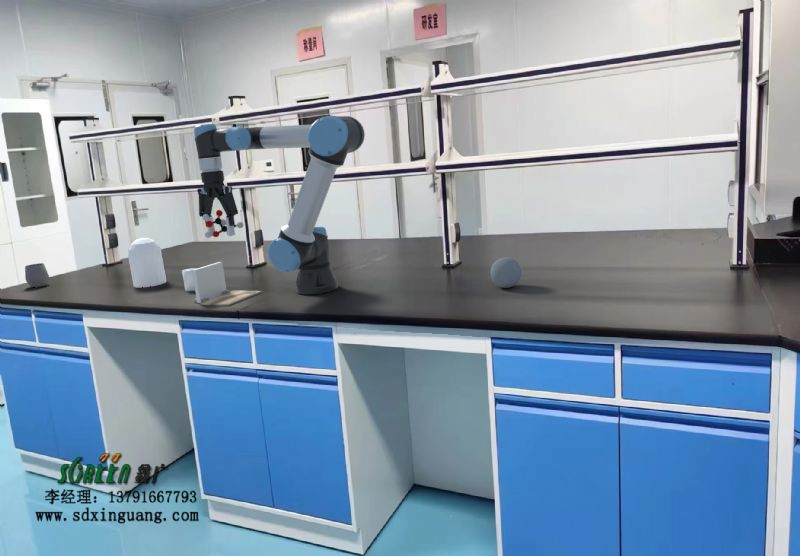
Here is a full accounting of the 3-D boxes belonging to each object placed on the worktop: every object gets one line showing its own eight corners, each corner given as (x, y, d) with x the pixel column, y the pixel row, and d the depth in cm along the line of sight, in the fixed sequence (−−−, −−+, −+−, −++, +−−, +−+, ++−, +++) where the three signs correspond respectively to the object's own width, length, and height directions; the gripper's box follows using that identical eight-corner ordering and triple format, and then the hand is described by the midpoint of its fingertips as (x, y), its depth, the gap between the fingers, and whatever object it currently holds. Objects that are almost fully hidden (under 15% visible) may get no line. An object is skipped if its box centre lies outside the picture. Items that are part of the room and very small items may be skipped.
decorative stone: (488, 291, 199) (486, 260, 197) (495, 283, 208) (493, 254, 206) (519, 291, 195) (517, 260, 193) (524, 283, 204) (523, 254, 202)
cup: (42, 283, 289) (37, 262, 287) (55, 283, 285) (50, 262, 282) (22, 288, 280) (18, 267, 278) (35, 289, 276) (30, 267, 274)
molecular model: (226, 245, 224) (230, 218, 226) (242, 243, 220) (246, 216, 222) (193, 233, 211) (197, 206, 213) (209, 232, 207) (213, 203, 209)
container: (155, 279, 273) (147, 234, 269) (173, 281, 265) (165, 235, 261) (127, 286, 262) (118, 240, 258) (145, 288, 255) (136, 241, 250)
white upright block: (204, 287, 245) (201, 268, 244) (193, 291, 240) (190, 271, 239) (192, 287, 248) (189, 268, 246) (181, 291, 243) (178, 271, 241)
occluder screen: (230, 293, 231) (225, 261, 228) (204, 303, 219) (198, 270, 216) (220, 292, 233) (215, 261, 230) (193, 302, 221) (188, 270, 218)
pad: (261, 292, 227) (261, 290, 227) (229, 305, 211) (228, 304, 211) (234, 291, 233) (233, 290, 232) (200, 304, 217) (200, 302, 217)
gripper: (242, 167, 211) (252, 233, 216) (196, 171, 220) (206, 234, 225) (228, 169, 204) (238, 237, 209) (180, 173, 213) (191, 238, 218)
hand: (221, 235), depth 217 cm, fingers closed on molecular model, 8 cm apart
